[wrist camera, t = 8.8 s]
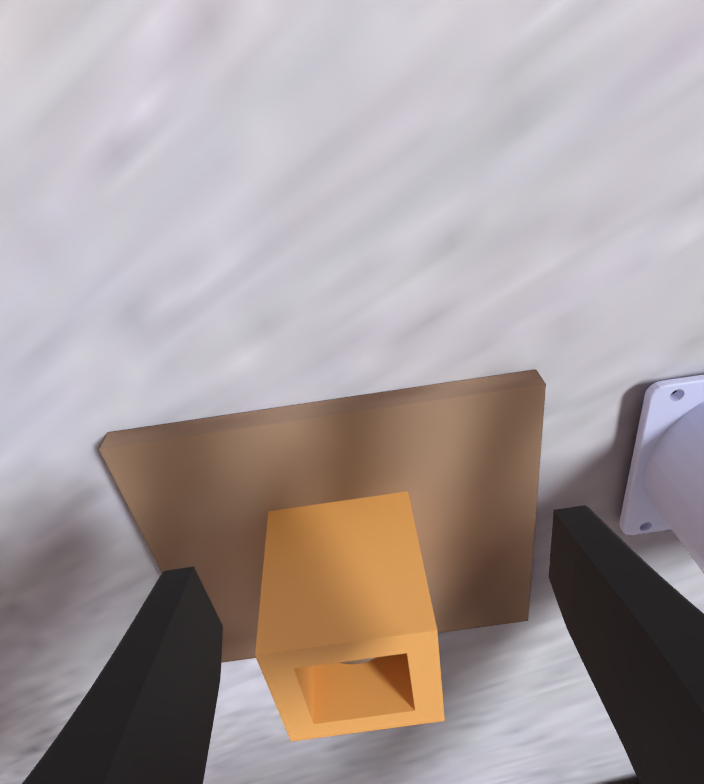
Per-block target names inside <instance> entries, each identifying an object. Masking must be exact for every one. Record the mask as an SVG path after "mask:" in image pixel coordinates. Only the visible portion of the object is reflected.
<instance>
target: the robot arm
mask: <svg viewBox="0 0 704 784" xmlns="http://www.w3.org/2000/svg"><path fill="white" fill-rule="evenodd" d="M675 390H677V392H675V393H674V394H672V395H671V393H672V392H674V391H675ZM619 527H620V528H621V530H622V532H623V533H624V534H626V535H638V534H645V533H652V532H659V531H666V530H672V531H673V532H674V533H675V535H676V536H677V537H678V539H679V540H680V542H681V543H682V544H683V546H684V547H685V548H686V550H687V551H688V552H689V554H690V555H691V557H692V558H693V559H694V561H695V562H696V563H697V565H698V566H699V568H700V569H701V570H702V572H703V573H704V375H698V376H691V377H684V378H677V379H670V380H663V381H659V382H655V383H654V384H652V385H651V386H650V387H649V388H648V389H647V390H646V393H645V396H644V401H643V406H642V411H641V416H640V422H639V427H638V432H637V437H636V442H635V447H634V452H633V457H632V462H631V467H630V472H629V477H628V482H627V487H626V492H625V497H624V502H623V507H622V512H621V517H620V522H619ZM549 579H550V582H551V585H552V588H553V591H554V593H555V596H556V599H557V602H558V605H559V608H560V611H561V613H562V616H563V619H564V622H565V624H566V627H567V629H568V631H569V634H570V636H571V638H572V640H573V642H574V644H575V646H576V648H577V651H578V653H579V655H580V657H581V659H582V661H583V663H584V665H585V667H586V669H587V671H588V674H589V676H590V678H591V680H592V682H593V684H594V686H595V688H596V690H597V692H598V694H599V696H600V698H601V700H602V702H603V705H604V707H605V709H606V711H607V713H608V715H609V717H610V719H611V721H612V723H613V725H614V727H615V729H616V731H617V734H618V736H619V738H620V740H621V742H622V744H623V746H624V748H625V751H626V753H627V755H628V757H629V760H630V762H631V764H632V766H633V769H634V771H635V773H636V776H637V778H638V781H639V783H640V784H704V613H702V612H701V611H700V610H699V609H698V608H696V607H695V606H694V605H693V604H692V603H691V602H689V601H688V600H687V599H686V598H685V597H684V596H683V595H681V594H680V593H679V592H678V591H677V590H676V589H675V588H673V587H672V586H671V585H670V584H669V583H668V582H667V581H666V580H664V579H663V578H662V577H661V576H660V575H659V574H658V573H657V572H655V571H654V570H653V569H652V568H651V567H650V566H649V565H648V564H647V563H646V562H645V561H643V560H642V559H641V558H640V557H639V556H638V555H637V554H636V553H635V552H634V551H633V550H632V549H631V548H630V547H629V546H628V545H627V544H625V543H624V542H623V541H622V540H621V539H620V538H619V537H618V536H617V535H616V534H615V533H614V532H613V531H612V530H611V529H610V528H609V527H608V526H607V525H606V524H605V523H604V522H603V521H602V520H601V519H600V518H599V517H598V516H597V515H596V514H595V513H594V512H593V511H592V510H591V509H590V508H588V507H587V506H585V505H584V506H577V507H571V508H564V509H558V510H554V514H553V527H552V540H551V554H550V567H549ZM222 639H223V625H222V623H221V621H220V619H219V617H218V615H217V613H216V611H215V609H214V607H213V605H212V603H211V601H210V598H209V596H208V594H207V592H206V590H205V588H204V586H203V584H202V582H201V580H200V578H199V576H198V574H197V572H196V570H195V568H194V566H192V567H186V568H179V569H173V570H167V571H164V572H163V573H162V574H161V576H160V577H159V579H158V581H157V582H156V584H155V586H154V587H153V589H152V591H151V592H150V594H149V596H148V597H147V599H146V601H145V602H144V604H143V606H142V607H141V609H140V611H139V612H138V614H137V616H136V617H135V619H134V621H133V622H132V624H131V625H130V627H129V629H128V630H127V632H126V634H125V635H124V637H123V639H122V640H121V642H120V643H119V645H118V647H117V648H116V650H115V651H114V653H113V654H112V656H111V657H110V659H109V661H108V662H107V664H106V665H105V667H104V668H103V670H102V672H101V673H100V675H99V676H98V678H97V679H96V681H95V682H94V684H93V686H92V687H91V689H90V690H89V692H88V693H87V694H86V696H85V697H84V699H83V700H82V702H81V703H80V705H79V706H78V707H77V709H76V710H75V712H74V713H73V715H72V716H71V718H70V719H69V720H68V722H67V723H66V725H65V726H64V728H63V729H62V731H61V732H60V733H59V735H58V736H57V738H56V739H55V740H54V742H53V743H52V745H51V746H50V747H49V749H48V750H47V751H46V753H45V754H44V755H43V757H42V758H41V760H40V761H39V762H38V764H37V765H36V766H35V767H34V769H33V770H32V771H31V773H30V774H29V775H28V777H27V778H26V779H25V781H24V782H23V783H22V784H203V779H204V773H205V767H206V761H207V756H208V750H209V744H210V738H211V732H212V726H213V720H214V714H215V708H216V702H217V696H218V690H219V684H220V674H221V659H222Z"/></svg>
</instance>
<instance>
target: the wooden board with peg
mask: <svg viewBox="0 0 704 784" xmlns="http://www.w3.org/2000/svg"><path fill="white" fill-rule="evenodd" d="M545 388H546V384H545V382H544V381H543V379H542V378H541V376H540V375H539V373H538V372H537V370H529V371H522V372H516V373H509V374H502V375H495V376H488V377H482V378H475V379H468V380H461V381H454V382H448V383H441V384H434V385H427V386H420V387H414V388H407V389H400V390H393V391H386V392H380V393H373V394H366V395H359V396H352V397H345V398H339V399H332V400H325V401H318V402H311V403H305V404H298V405H291V406H284V407H277V408H271V409H264V410H257V411H250V412H243V413H237V414H230V415H223V416H216V417H209V418H203V419H196V420H189V421H182V422H175V423H169V424H162V425H155V426H148V427H141V428H135V429H128V430H121V431H114V432H108V433H107V435H106V437H105V439H104V441H103V443H102V445H101V447H100V449H99V450H100V452H101V454H102V456H103V458H104V460H105V462H106V464H107V466H108V468H109V470H110V472H111V474H112V476H113V478H114V480H115V482H116V484H117V486H118V487H119V489H120V491H121V493H122V495H123V497H124V499H125V501H126V503H127V505H128V507H129V509H130V511H131V513H132V515H133V517H134V519H135V521H136V523H137V525H138V527H139V529H140V531H141V533H142V535H143V537H144V538H145V540H146V542H147V544H148V546H149V548H150V550H151V552H152V554H153V556H154V558H155V560H156V562H157V564H158V566H159V568H160V570H161V572H162V573H163V572H164V571H167V570H173V569H179V568H186V567H192V566H194V568H195V570H196V572H197V574H198V576H199V578H200V580H201V582H202V584H203V586H204V588H205V590H206V592H207V594H208V596H209V598H210V601H211V603H212V605H213V607H214V609H215V611H216V613H217V615H218V617H219V619H220V621H221V623H222V625H223V639H222V659H221V662H229V661H236V660H243V659H251V658H256V656H255V650H256V639H257V628H258V618H259V607H260V596H261V585H262V574H263V564H264V553H265V542H266V531H267V520H268V511H274V510H281V509H288V508H295V507H302V506H309V505H316V504H323V503H330V502H337V501H344V500H351V499H358V498H365V497H372V496H379V495H386V494H393V493H400V492H407V491H408V494H409V498H410V503H411V508H412V513H413V517H414V522H415V527H416V532H417V536H418V541H419V546H420V551H421V555H422V560H423V565H424V570H425V574H426V579H427V584H428V588H429V593H430V598H431V603H432V607H433V612H434V617H435V622H436V626H437V633H441V632H449V631H456V630H463V629H471V628H478V627H485V626H493V625H500V624H507V623H515V622H522V621H528V613H529V600H530V586H531V573H532V560H533V547H534V533H535V520H536V507H537V494H538V481H539V467H540V454H541V441H542V428H543V414H544V401H545ZM375 658H376V657H375ZM372 659H374V658H368V659H360V660H353V661H346V662H339V663H343V664H361V663H365V662H368V661H370V660H372Z"/></svg>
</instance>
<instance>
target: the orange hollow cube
mask: <svg viewBox="0 0 704 784" xmlns="http://www.w3.org/2000/svg"><path fill="white" fill-rule="evenodd" d="M255 656H256V659H257V661H258V663H259V666H260V668H261V671H262V673H263V675H264V678H265V680H266V683H267V685H268V687H269V690H270V692H271V695H272V697H273V699H274V702H275V704H276V706H277V709H278V711H279V714H280V716H281V718H282V721H283V723H284V726H285V728H286V730H287V733H288V735H289V738H290V740H291V741H298V740H305V739H313V738H320V737H328V736H335V735H343V734H350V733H358V732H365V731H373V730H380V729H388V728H395V727H403V726H410V725H418V724H425V723H433V722H440V721H445V718H444V706H443V693H442V681H441V669H440V657H439V645H438V633H437V626H436V622H435V617H434V612H433V607H432V603H431V598H430V593H429V588H428V584H427V579H426V574H425V570H424V565H423V560H422V555H421V551H420V546H419V541H418V536H417V532H416V527H415V522H414V517H413V513H412V508H411V503H410V498H409V494H408V491H407V492H400V493H393V494H386V495H379V496H372V497H365V498H358V499H351V500H344V501H337V502H330V503H323V504H316V505H309V506H302V507H295V508H288V509H281V510H274V511H268V520H267V531H266V542H265V553H264V564H263V574H262V585H261V596H260V607H259V618H258V628H257V639H256V650H255ZM375 657H376V658H375ZM368 658H374V659H372V660H370V661H368V662H365V663H361V664H343V663H339V662H346V661H353V660H360V659H368Z"/></svg>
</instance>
